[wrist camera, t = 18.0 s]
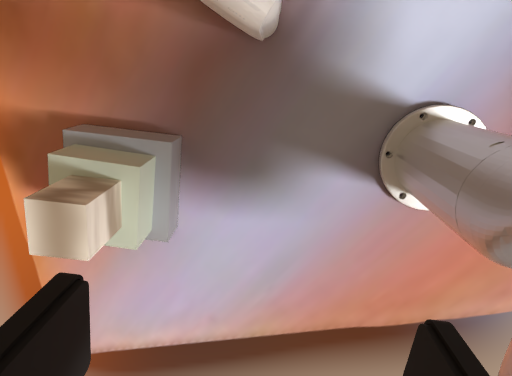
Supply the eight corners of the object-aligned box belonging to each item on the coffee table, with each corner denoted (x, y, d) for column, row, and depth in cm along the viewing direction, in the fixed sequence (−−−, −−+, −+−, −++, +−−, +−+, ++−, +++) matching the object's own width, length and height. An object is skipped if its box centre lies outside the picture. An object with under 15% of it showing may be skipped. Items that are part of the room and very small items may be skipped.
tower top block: (155, 156, 39) (140, 167, 35) (151, 230, 42) (136, 250, 37) (74, 144, 39) (47, 153, 34) (75, 218, 42) (50, 237, 37)
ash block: (121, 180, 35) (86, 205, 28) (121, 227, 37) (88, 261, 30) (70, 174, 35) (23, 198, 28) (73, 221, 37) (29, 254, 30)
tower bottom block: (182, 135, 44) (172, 142, 39) (178, 225, 47) (167, 242, 42) (85, 123, 44) (62, 129, 39) (88, 214, 47) (67, 230, 42)
